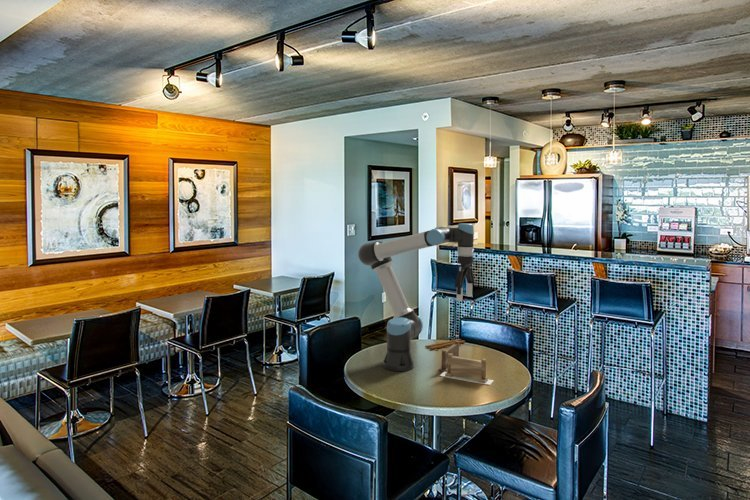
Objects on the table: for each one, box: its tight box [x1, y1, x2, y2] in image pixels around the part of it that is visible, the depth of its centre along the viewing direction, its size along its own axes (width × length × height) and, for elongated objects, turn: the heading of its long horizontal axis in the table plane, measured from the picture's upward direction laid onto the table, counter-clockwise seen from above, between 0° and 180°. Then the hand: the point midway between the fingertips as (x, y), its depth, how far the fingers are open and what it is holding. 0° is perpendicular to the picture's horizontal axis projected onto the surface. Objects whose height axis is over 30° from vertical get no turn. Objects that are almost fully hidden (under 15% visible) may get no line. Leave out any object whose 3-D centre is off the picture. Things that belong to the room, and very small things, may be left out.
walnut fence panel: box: [438, 341, 460, 373], centre depth 248 cm, size 4×21×10 cm, turn 151°
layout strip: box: [439, 372, 494, 386], centre depth 230 cm, size 24×6×1 cm, turn 61°
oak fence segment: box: [445, 353, 489, 383], centre depth 230 cm, size 4×19×10 cm, turn 61°
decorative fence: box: [424, 338, 466, 352], centre depth 283 cm, size 25×2×10 cm
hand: (464, 298), depth 243 cm, fingers open, 13 cm apart
